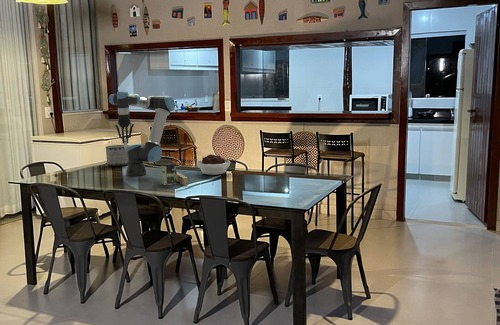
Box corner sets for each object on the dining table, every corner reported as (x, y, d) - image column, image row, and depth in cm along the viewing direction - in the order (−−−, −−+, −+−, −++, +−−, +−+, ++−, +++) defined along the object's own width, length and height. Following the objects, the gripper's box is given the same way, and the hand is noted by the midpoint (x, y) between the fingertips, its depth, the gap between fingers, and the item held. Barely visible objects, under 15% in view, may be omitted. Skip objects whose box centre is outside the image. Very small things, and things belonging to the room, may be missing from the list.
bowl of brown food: (225, 170, 382) (225, 151, 380) (234, 175, 359) (234, 155, 356) (194, 172, 374) (193, 153, 372) (201, 178, 351) (200, 157, 348)
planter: (102, 167, 403) (101, 147, 400) (112, 163, 422) (111, 144, 419) (124, 167, 400) (123, 147, 397) (133, 163, 419) (132, 144, 416)
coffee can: (179, 182, 339) (178, 162, 336) (173, 185, 329) (172, 164, 326) (165, 181, 341) (164, 162, 338) (159, 184, 331) (158, 164, 328)
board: (174, 179, 348) (174, 172, 347) (178, 179, 349) (178, 172, 348) (183, 185, 328) (183, 178, 327) (187, 184, 329) (187, 177, 328)
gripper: (114, 114, 325) (116, 149, 329) (134, 114, 330) (136, 148, 334) (113, 114, 332) (115, 148, 336) (132, 113, 337) (134, 147, 341)
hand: (125, 148), depth 335 cm, fingers closed
